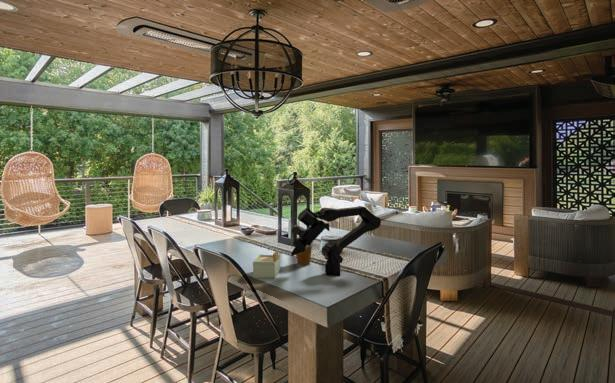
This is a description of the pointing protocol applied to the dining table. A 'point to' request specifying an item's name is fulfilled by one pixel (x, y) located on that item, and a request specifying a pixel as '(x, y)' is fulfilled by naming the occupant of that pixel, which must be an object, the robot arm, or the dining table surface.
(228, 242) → the dining table surface
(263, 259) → the lid
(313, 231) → the robot arm
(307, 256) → the disposable coffee cup
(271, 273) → the box
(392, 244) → the dining table surface
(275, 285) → the dining table surface
